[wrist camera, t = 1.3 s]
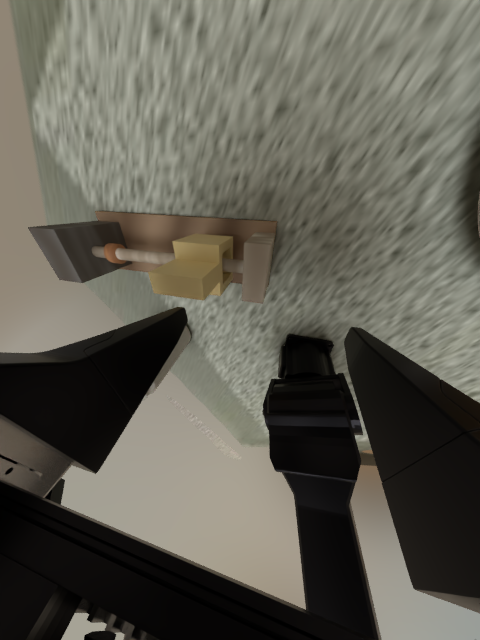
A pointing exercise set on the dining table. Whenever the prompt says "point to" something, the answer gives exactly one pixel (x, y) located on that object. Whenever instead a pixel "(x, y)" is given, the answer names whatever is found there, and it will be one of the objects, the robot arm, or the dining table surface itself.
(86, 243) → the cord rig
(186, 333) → the beverage can
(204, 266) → the marker sleeve
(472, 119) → the dining table surface
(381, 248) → the dining table surface
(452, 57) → the dining table surface
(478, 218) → the bowl
